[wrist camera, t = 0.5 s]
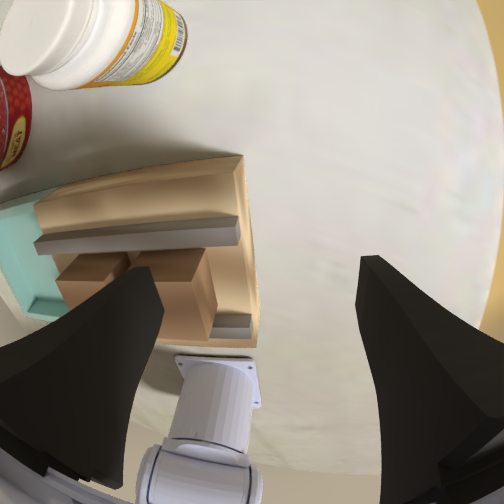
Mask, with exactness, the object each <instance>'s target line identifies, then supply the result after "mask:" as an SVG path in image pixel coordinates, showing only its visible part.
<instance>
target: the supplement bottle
mask: <svg viewBox="0 0 504 504" xmlns="http://www.w3.org/2000/svg"><path fill="white" fill-rule="evenodd" d="M187 44H188V28H187V25H186V22H185V20H184V18H183V17H182V16H181V15H180V13H179V12H177V11H176V10H175V9H173V8H172V7H171V6H169V5H168V4H166V3H165V2H163V1H162V0H15V1H14V3H13V4H12V6H11V8H10V9H9V11H8V13H7V15H6V17H5V19H4V22H3V25H2V28H1V31H0V63H1V65H2V67H3V69H4V70H5V71H6V72H7V73H9V74H10V75H14V76H27V75H30V76H31V77H32V78H33V80H34V81H35V82H36V83H37V84H39V85H40V86H42V87H44V88H46V89H50V90H58V91H59V90H72V89H81V88H92V87H103V86H122V85H143V84H148V83H152V82H154V81H157V80H159V79H161V78H163V77H164V76H166V75H167V74H168V73H170V72H171V71H172V70H173V69H174V68H175V67H176V66H177V65H178V63H179V62H180V60H181V59H182V57H183V55H184V53H185V51H186V48H187Z"/></svg>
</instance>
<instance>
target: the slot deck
mask: <svg viewBox="0 0 504 504" xmlns="http://www.w3.org/2000/svg"><path fill="white" fill-rule="evenodd" d="M33 207H34V210H35V213H36V216H37V219H38V222H39V224H40V227H41V230H42V233H43V235H42V236H40V237H39V238H38V239H37V240H36V241H35V242H33V244H34V246H35V249H36V251H37V254H38V256H39V255H52V258H53V260H54V262H55V265H56V267H57V269H58V272H59V274H61V273H62V272H63V271H64V270H65V269H66V268H67V267H68V266H69V265H70V264H71V263H72V262H73V260H74V259H75V258H76V257H77V256H78V255H79V254H97V253H117V252H127V253H128V256H129V259H130V262H131V264H132V263H133V261H134V260H135V259H136V257H137V256H138V255H139V253H140V252H141V251H160V250H182V249H204V248H206V251H207V256H208V261H209V266H210V271H211V276H212V280H213V285H214V289H215V294H216V299H217V303H218V307H217V311H216V314H215V318H214V321H213V325H212V329H211V333H210V336H209V340H208V341H191V340H173V339H159V338H157V339H156V342H155V344H168V345H182V346H200V347H226V348H256V346H257V337H258V327H259V318H260V302H259V293H258V284H257V275H256V266H255V257H254V247H253V238H252V229H251V220H250V211H249V202H248V193H247V184H246V175H245V166H244V157H243V155H242V156H231V157H221V158H212V159H203V160H195V161H187V162H180V163H173V164H166V165H159V166H153V167H147V168H141V169H136V170H130V171H125V172H120V173H115V174H110V175H105V176H100V177H96V178H91V179H87V180H82V181H78V182H74V183H70V184H66V185H64V186H62V187H61V188H59V189H57V190H56V191H54V192H52V193H51V194H49V195H48V196H46V197H44V198H43V199H41V200H40V201H38V202H37V203H35V204H34V205H33Z"/></svg>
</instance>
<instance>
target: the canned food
mask: <svg viewBox="0 0 504 504" xmlns="http://www.w3.org/2000/svg"><path fill="white" fill-rule="evenodd" d="M31 119H32V102H31V94H30V89H29V85H28V82H27V80H26V77H25V76H14V75H10V74H9V73H7V72H6V71H5V70H4V69H3V67H2V66H0V171H2V170H4V169H6V168H8V167H10V166H12V165H13V164H14V163H16V162H17V161H18V159H19V158H20V157H21V155H22V153H23V151H24V149H25V147H26V144H27V141H28V137H29V133H30V128H31Z"/></svg>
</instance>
